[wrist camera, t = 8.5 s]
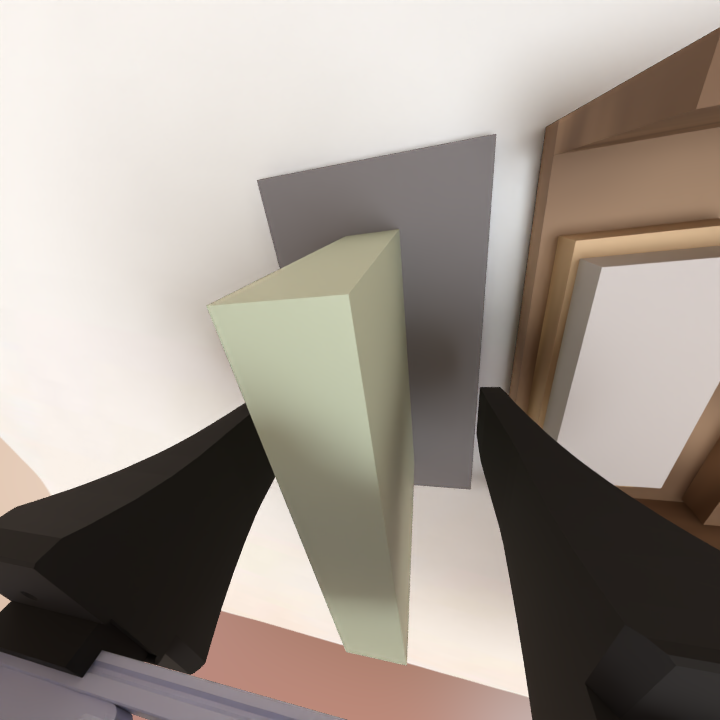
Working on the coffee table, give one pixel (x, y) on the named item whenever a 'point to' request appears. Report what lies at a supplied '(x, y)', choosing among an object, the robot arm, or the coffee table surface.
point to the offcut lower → (565, 275)
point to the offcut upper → (637, 361)
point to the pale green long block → (336, 422)
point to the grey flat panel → (412, 272)
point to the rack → (635, 209)
